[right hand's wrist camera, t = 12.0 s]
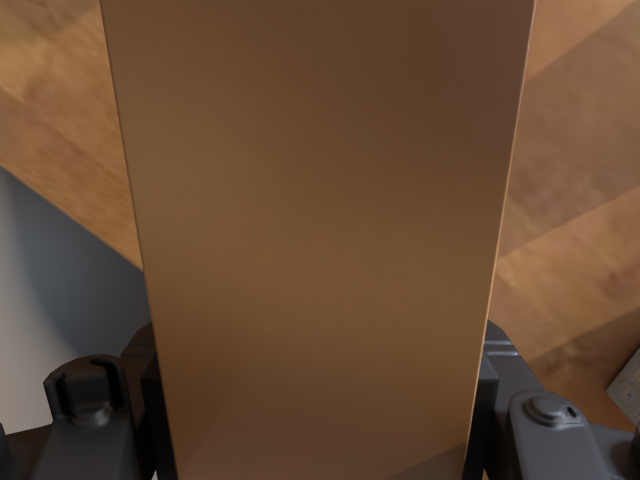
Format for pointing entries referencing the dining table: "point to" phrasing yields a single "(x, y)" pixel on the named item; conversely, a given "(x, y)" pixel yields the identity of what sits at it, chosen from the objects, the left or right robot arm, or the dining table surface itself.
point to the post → (318, 223)
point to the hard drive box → (628, 389)
